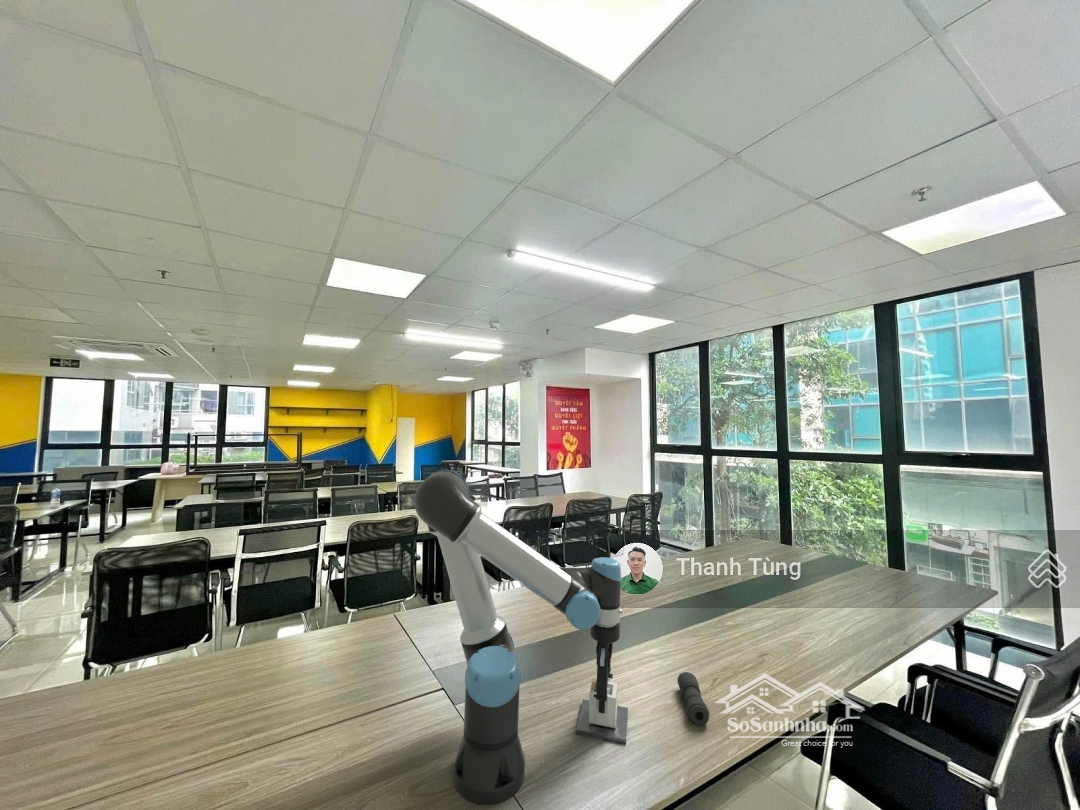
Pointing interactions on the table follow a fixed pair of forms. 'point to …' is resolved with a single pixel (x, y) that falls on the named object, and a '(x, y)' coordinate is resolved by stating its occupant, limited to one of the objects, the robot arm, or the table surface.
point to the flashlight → (693, 698)
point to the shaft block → (601, 731)
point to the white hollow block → (611, 704)
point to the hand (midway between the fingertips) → (603, 714)
